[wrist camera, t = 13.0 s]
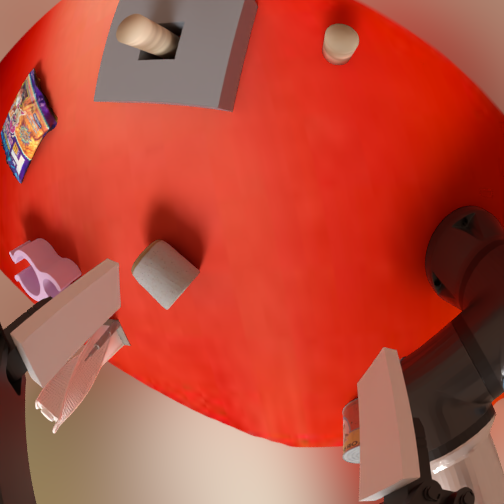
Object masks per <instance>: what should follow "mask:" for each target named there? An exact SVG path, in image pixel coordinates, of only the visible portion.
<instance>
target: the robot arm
mask: <svg viewBox="0 0 504 504" xmlns="http://www.w3.org/2000/svg"><path fill="white" fill-rule="evenodd" d="M425 269H426V275H427V278H428V281H429V283H430V284H431V286H432V287H433V289H434V291H435V292H436V293H437V295H438V296H439V297H441V298H442V299H443V300H445V301H446V302H448V303H450V304H452V305H453V306H455V307H457V308H458V309H460V310H462V312H461V313H460V314H459V315H458V316H457V317H456V318H454V319H453V320H452V321H451V322H450V323H448V324H447V325H446V326H445V327H444V328H443V329H442V330H440V331H439V332H438V333H437V334H436V335H434V336H433V337H432V338H431V339H430V340H428V341H427V342H426V343H425V344H423V345H422V346H421V347H419V348H418V349H417V350H415V351H414V352H413V353H411V354H410V355H408V356H407V357H403V358H401V359H400V360H399V357H398V353H397V350H394V349H389V348H385V347H383V349H382V350H381V352H380V353H379V355H378V356H377V357H376V359H375V360H374V362H373V363H372V364H371V366H370V367H369V369H368V370H367V371H366V373H365V374H364V375H363V377H362V378H361V379H360V381H359V382H358V383H357V388H358V403H359V425H360V484H359V501H375V500H377V499H380V498H382V497H384V502H382V503H380V504H504V473H503V470H502V467H501V463H500V460H499V457H498V454H497V451H496V448H495V445H494V443H493V440H492V437H491V435H490V429H491V427H492V424H493V422H494V419H495V416H496V413H495V410H494V408H493V405H492V403H491V402H492V401H493V400H494V399H496V398H497V397H498V396H499V395H501V394H502V393H503V392H504V229H503V227H502V226H501V224H500V222H499V221H498V220H497V219H496V218H495V217H494V216H493V215H492V214H491V213H489V212H488V211H486V210H484V209H482V208H480V207H476V206H466V207H462V208H459V209H457V210H455V211H453V212H452V213H450V214H449V215H448V216H447V217H446V218H445V219H444V220H443V221H442V222H441V223H440V224H439V226H438V227H437V229H436V230H435V232H434V233H433V235H432V237H431V240H430V242H429V245H428V248H427V252H426V259H425ZM120 307H121V301H120V284H119V263H117V262H115V261H112V260H110V259H106V260H104V261H103V262H102V263H100V264H99V265H97V266H96V267H94V268H93V269H92V270H90V271H89V272H87V273H86V274H85V275H83V276H82V277H81V278H79V279H78V280H76V281H75V282H74V283H72V284H71V285H70V286H68V287H67V288H66V289H64V290H63V291H62V292H60V293H59V294H58V295H57V296H55V297H54V298H52V297H51V296H50V297H47V298H44V299H42V300H40V301H39V302H37V303H36V304H35V305H34V306H33V307H31V308H30V309H28V310H27V312H25V313H23V314H22V315H21V316H20V317H19V318H17V319H16V320H15V321H14V322H12V323H11V324H10V325H9V326H8V327H7V328H5V329H4V330H3V329H2V326H1V324H0V504H36V501H35V496H34V491H33V486H32V481H31V475H30V469H29V462H28V453H27V444H26V428H25V385H26V377H25V372H26V371H27V370H28V372H29V374H30V376H31V377H32V379H33V380H34V381H35V382H36V383H38V384H39V385H40V386H41V387H42V388H44V387H45V385H46V384H47V383H48V382H49V381H50V380H51V379H52V378H53V377H54V375H55V374H56V373H57V372H58V371H59V370H60V369H61V368H62V367H63V366H64V365H65V363H66V362H67V361H68V360H69V359H70V358H71V357H72V356H73V355H74V354H75V353H76V352H77V351H78V350H79V348H80V347H81V346H82V345H83V344H84V343H85V342H86V341H87V340H88V339H89V338H90V337H91V336H92V335H93V334H94V333H95V332H96V331H97V330H98V329H99V328H100V327H101V326H102V325H103V324H104V323H105V322H106V321H107V320H108V319H109V318H110V317H111V316H112V315H113V314H114V313H115V312H116V311H117V310H118V309H119V308H120Z"/></svg>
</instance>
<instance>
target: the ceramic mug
mask: <svg viewBox="0 0 504 504" xmlns="http://www.w3.org/2000/svg"><path fill="white" fill-rule="evenodd" d="M131 271H132V274H133V276H134V277H135V279H136V280H137V281H138V282H139V283H140V284H141V285H142V286H143V287H144V288H145V289H146V290H147V291H148V292H149V293H150V294H151V295H152V296H153V297H154V298H155V299H156V300H157V301H158V302H159V303H160V304H161V305H162V306H163V307H164V308H165V309H169V308H170V306H171V305H172V304H173V303H174V302H175V301H176V299H177V298H178V297H179V296H180V295H181V294H182V293H183V292H184V290H185V289H186V288H187V287H188V286H189V285H190V283H191V282H192V281H193V280H194V279H195V278H196V277H197V275H198V274H199V273H200V271H199V270H198V269H197V268H196V267H195V266H193V265H192V264H191V263H190V262H189V261H188V260H187V259H185V258H184V257H183V256H182V255H181V254H179V253H178V252H177V251H176V250H175V249H174V248H173V247H172V246H171V245H169V244H168V243H166V242H165V241H163V240H156V241H154V242H152V243H151V244H150V245H149V246H148V247H147V248H146V249H145V250H144V251H143V252H142V253H141V254H140V255H139V257H138V258H137V259H136V261H135V262H134V264H133V266H132V270H131Z"/></svg>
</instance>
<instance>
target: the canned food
mask: <svg viewBox="0 0 504 504" xmlns="http://www.w3.org/2000/svg"><path fill="white" fill-rule="evenodd" d="M343 459H344V460H345V461H347V462H350V463H360V425H359V403H358V398H357V399H355V400H353V401H351V402H349V403H348V404H347V405H346V406H345V407H344V409H343Z"/></svg>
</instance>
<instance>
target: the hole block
mask: <svg viewBox="0 0 504 504" xmlns="http://www.w3.org/2000/svg"><path fill="white" fill-rule="evenodd" d="M257 8H258V6H257V4H256V2H255V0H120V1H119V4H118V6H117V9H116V12H115V15H114V18H113V21H112V24H111V27H110V31H109V34H108V38H107V41H106V45H105V49H104V53H103V57H102V61H101V65H100V70H99V74H98V79H97V85H96V90H95V96H94V101H96V102H125V103H155V104H171V105H182V106H193V107H201V108H210V109H217V110H224V111H231V112H233V107H234V102H235V98H236V93H237V88H238V84H239V80H240V75H241V71H242V67H243V63H244V58H245V54H246V50H247V46H248V42H249V38H250V34H251V30H252V27H253V23H254V19H255V15H256V12H257ZM132 14H140V15H142V16H144V17H146V18H148V19H150V20H152V21H153V22H155V23H157V24H159V25H160V26H162V27H164V28H166V29H167V30H169V31H171V32H172V33H174V34H176V35H177V36H181V37H180V40H179V44H178V48H177V52H176V56H175V59H163V58H161V57H159V56H156V55H154V54H151V53H148V52H146V51H143V50H140V49H138V48H135V47H132V46H129V45H126V44H123V43H121V42H119V41H118V40H117V38H116V31H117V28H118V26H119V25H120V23H121V22H122V21H123V20H124V19H125V18H126V17H128V16H130V15H132Z"/></svg>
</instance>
